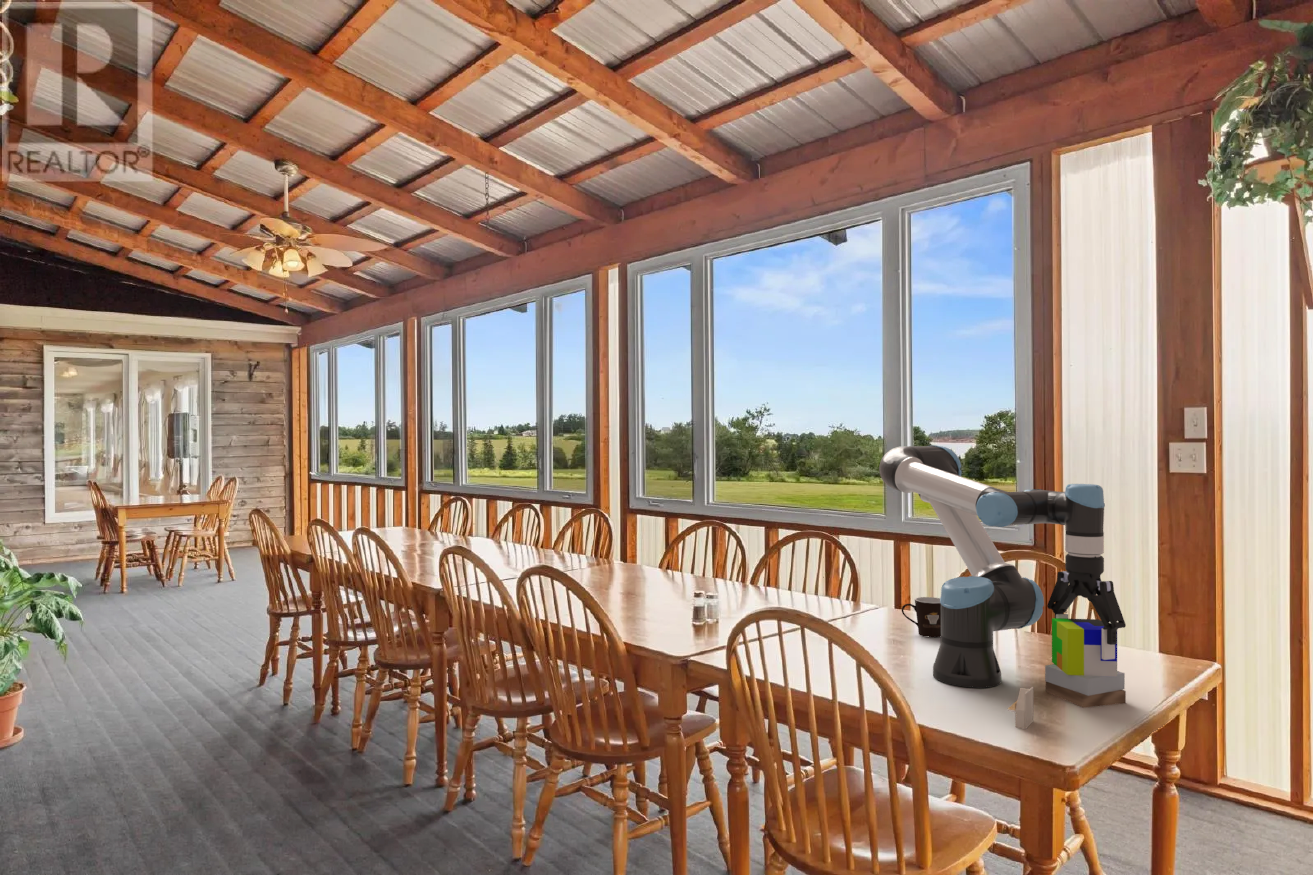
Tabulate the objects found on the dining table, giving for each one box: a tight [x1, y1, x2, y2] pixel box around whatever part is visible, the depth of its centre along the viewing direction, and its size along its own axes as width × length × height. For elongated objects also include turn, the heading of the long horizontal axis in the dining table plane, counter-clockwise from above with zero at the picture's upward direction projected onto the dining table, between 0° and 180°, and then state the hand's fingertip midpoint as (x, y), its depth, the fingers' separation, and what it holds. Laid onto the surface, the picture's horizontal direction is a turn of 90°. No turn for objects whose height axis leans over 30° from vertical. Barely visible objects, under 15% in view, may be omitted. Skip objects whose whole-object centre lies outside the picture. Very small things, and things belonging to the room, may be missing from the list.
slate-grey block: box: [1044, 663, 1126, 696], centre depth 179 cm, size 11×11×4 cm
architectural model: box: [1007, 686, 1034, 730], centre depth 164 cm, size 3×7×7 cm, turn 141°
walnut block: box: [1045, 681, 1127, 709], centre depth 179 cm, size 11×11×4 cm
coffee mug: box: [901, 596, 941, 638], centre depth 235 cm, size 12×9×10 cm
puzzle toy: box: [1051, 617, 1118, 677], centre depth 179 cm, size 10×10×10 cm
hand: (1084, 650), depth 179 cm, fingers open, 13 cm apart
